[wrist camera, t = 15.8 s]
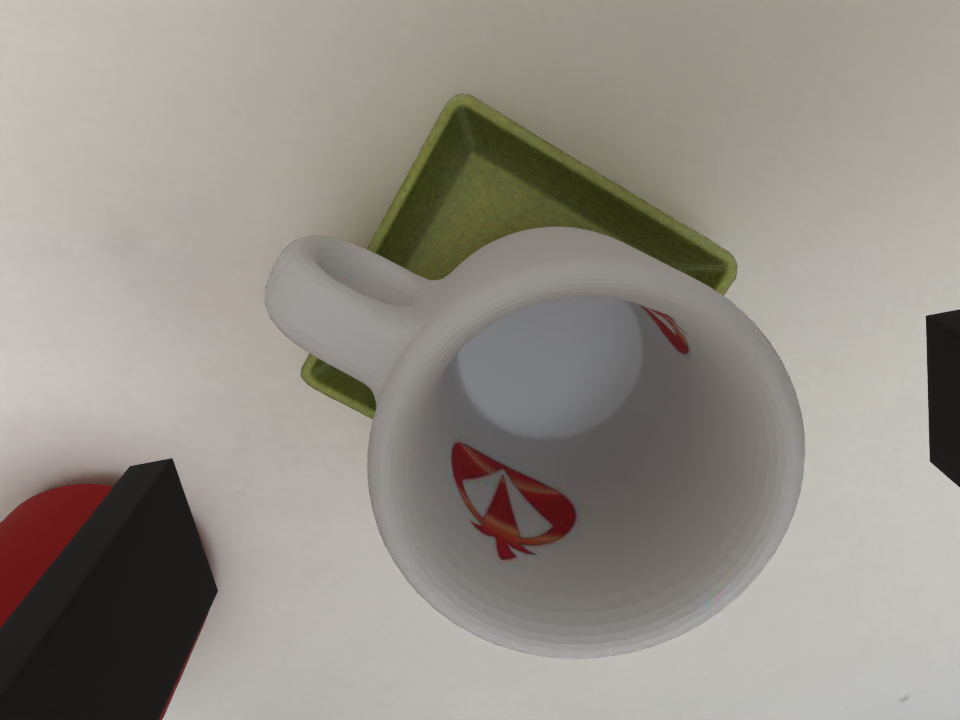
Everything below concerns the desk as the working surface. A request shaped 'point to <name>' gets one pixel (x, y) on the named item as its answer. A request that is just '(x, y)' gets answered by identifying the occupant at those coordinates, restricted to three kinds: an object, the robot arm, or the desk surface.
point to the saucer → (509, 213)
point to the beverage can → (44, 541)
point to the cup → (558, 433)
